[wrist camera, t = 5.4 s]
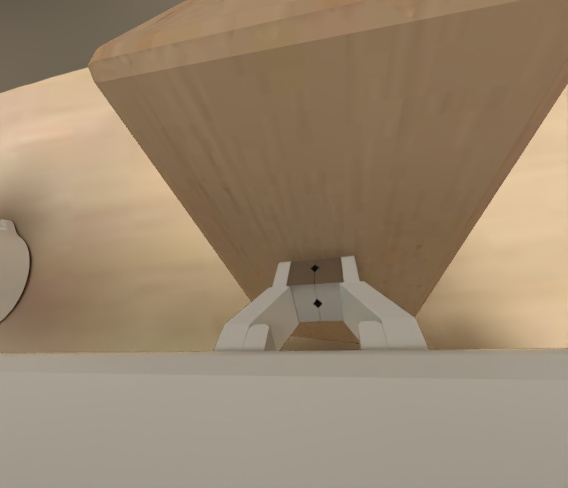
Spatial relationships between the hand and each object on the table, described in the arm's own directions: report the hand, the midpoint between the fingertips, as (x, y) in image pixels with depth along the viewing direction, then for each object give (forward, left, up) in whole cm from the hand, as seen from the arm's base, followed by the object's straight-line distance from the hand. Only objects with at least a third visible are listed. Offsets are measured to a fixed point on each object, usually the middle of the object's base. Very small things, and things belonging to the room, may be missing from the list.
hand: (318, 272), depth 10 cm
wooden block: (0, 0, -14) cm, 14 cm away
